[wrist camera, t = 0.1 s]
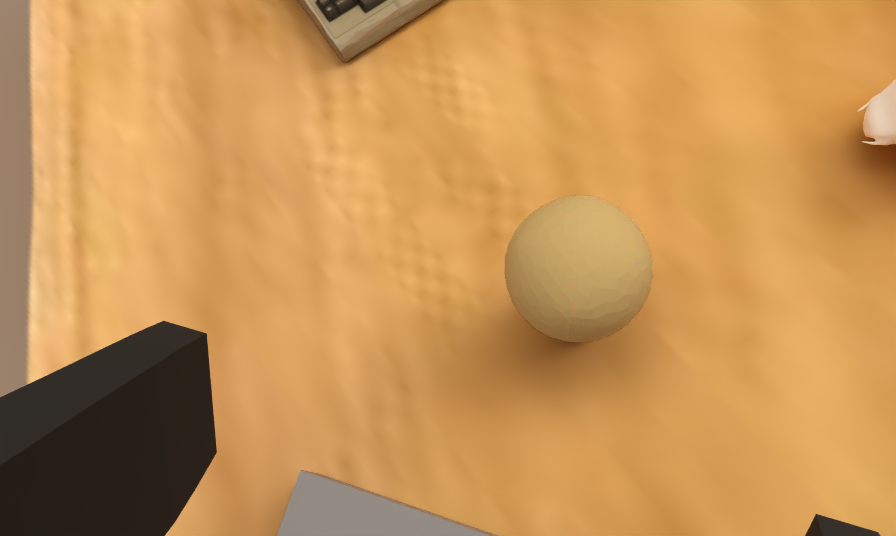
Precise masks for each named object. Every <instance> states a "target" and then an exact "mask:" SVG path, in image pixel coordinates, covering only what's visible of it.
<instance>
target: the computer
mask: <svg viewBox="0 0 896 536" xmlns="http://www.w3.org/2000/svg"><path fill="white" fill-rule="evenodd" d="M298 1H299V3H300V4H301V6H302V7H303V8H304V10H305V11H306V12H307V14H308V15H309V16H310V18H311V19H312V20H313V22H314V23H315V25H316V26H317V27H318V29H319V30H320V32H321V33H322V34H323V36H324V37H325V39H326V40H327V41H328V43H329V44H330V45H331V47H332V48H333V50H334V51H335V53H336V54H337V56H338V57H339V58H340V60H341V61H343V62H344V63H347V62H348V61H349V60H350V59H351V58H353V57H354V56H356V55H357V54H359V53H361V52H362V51H364V50H366V49H368V48H369V47H371V46H372V45H374V44H376V43H377V42H379V41H381V40H382V39H384V38H385V37H387V36H388V35H390V34H391V33H393V32H394V31H396V30H397V29H399V28H400V27H402V26H403V25H405V24H407V23H409V22H411V21H412V20H414V19H415V18H417V17H418V16H420V15H421V14H423V13H424V12H426V11H427V10H428V9H430V8H432V7H433V6H435V5H437V4H438V3H440V2H442V1H443V0H298Z"/></svg>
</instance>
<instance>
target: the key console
mask: <svg viewBox="0 0 896 536" xmlns="http://www.w3.org/2000/svg"><path fill="white" fill-rule="evenodd" d="M277 536H497V535H494V534H491V533H488V532H485V531H483V530H480V529H477V528H474V527H471V526H468V525H465V524H462V523H459V522H457V521H454V520H451V519H448V518H445V517H442V516H439V515H436V514H433V513H431V512H428V511H425V510H422V509H419V508H416V507H413V506H410V505H407V504H405V503H402V502H399V501H396V500H393V499H390V498H387V497H384V496H381V495H379V494H376V493H373V492H370V491H367V490H364V489H361V488H358V487H355V486H353V485H350V484H347V483H344V482H341V481H338V480H335V479H332V478H329V477H327V476H324V475H321V474H318V473H313V472H308V471H303V470H301V471H300V473H299V476H298V479H297V482H296V484H295V487H294V490H293V493H292V495H291V498H290V501H289V504H288V506H287V509H286V512H285V515H284V518H283V520H282V523H281V526H280V529H279V531H278V534H277Z"/></svg>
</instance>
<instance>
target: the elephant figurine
mask: <svg viewBox="0 0 896 536" xmlns="http://www.w3.org/2000/svg"><path fill="white" fill-rule="evenodd" d="M866 107H868V108H867V110H866V113H865V116H864V120H863V131H864V134H865V136H866V137H870V138H873V139H875V141H874V142H863V143H867V144H871V145H890V144H896V79H895V80H894V81H893V82H892V83H891V84H890V85H889V86H888V87H887V88H886V89H884V90H883V91H882V92H881V93H880V94H878V95H876V96H874V97H873V98H872V99H871V100H870V101H869V102H868V103H867V104H866V105H864V106H863V107H862V108H861V109H859V110H858V111H860V110H862V109H864V108H866Z"/></svg>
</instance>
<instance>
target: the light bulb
mask: <svg viewBox="0 0 896 536" xmlns="http://www.w3.org/2000/svg"><path fill="white" fill-rule="evenodd" d="M652 278H653V260H652V256H651V251H650V248H649V245H648V243H647V241H646V239H645V237H644V235H643V233H642V232H641V230H640V228H639V227H638V226H637V224H636V223H635V222H634V221H633V220H632V219H631V217H630V216H629V215H627V214H626V213H625V212H624V211H622V210H621V209H620V208H619V207H617V206H615V205H613V204H612V203H610V202H608V201H605V200H603V199H601V198H598V197H593V196H588V195H575V196H568V197H563V198H560V199H557V200H554V201H551V202H549V203H547V204H545V205H543V206H541V207H540V208H538V209H537V210H536V211H534V212H533V213H531V214H530V215H529V216H528V217H527V218H526V219H525V220H524V221H523V222H522V223H521V224H520V225H519V227H518V228H517V230H516V231H515V233H514V234H513V236H512V238H511V240H510V242H509V245H508V248H507V252H506V256H505V279H506V285H507V289H508V291H509V294H510V297H511V299H512V301H513V303H514V305H515V307H516V308H517V310H518V312H519V313H520V314H521V315H522V317H523V318H524V319H525V320H526V321H527V322H528V323H530V324H531V325H532V326H533V327H534V328H535V329H537V330H539V331H540V332H542V333H544V334H546V335H547V336H550V337H553V338H555V339H558V340H563V341H567V342H588V341H595V340H599V339H602V338H604V337H607V336H610V335H612V334H614V333H615V332H617V331H619V330H620V329H622V328H623V327H624V326H626V325H627V324H628V323H629V322H630V321H631V320H632V319H633V318H634V317H635V316H636V315H637V313H638V312H639V311H640V309H641V308H642V306H643V304H644V303H645V301H646V299H647V297H648V294H649V291H650V288H651V283H652Z"/></svg>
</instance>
